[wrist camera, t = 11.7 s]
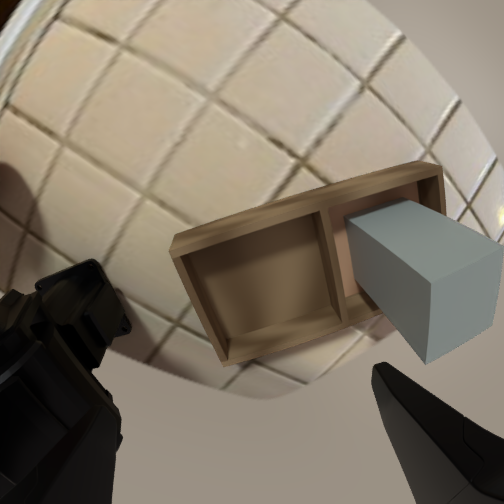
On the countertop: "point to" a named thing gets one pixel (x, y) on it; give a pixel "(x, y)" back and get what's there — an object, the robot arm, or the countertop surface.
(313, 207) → the slot holder
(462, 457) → the robot arm
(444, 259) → the grey tall block
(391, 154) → the countertop surface
